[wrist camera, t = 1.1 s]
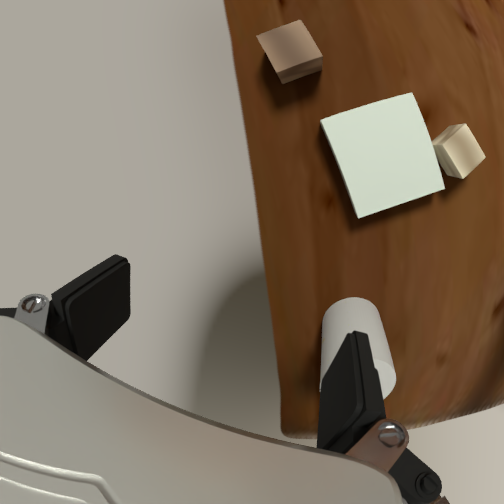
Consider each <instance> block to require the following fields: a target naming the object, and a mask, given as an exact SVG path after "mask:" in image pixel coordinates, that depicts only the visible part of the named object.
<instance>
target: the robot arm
mask: <svg viewBox="0 0 504 504" xmlns="http://www.w3.org/2000/svg"><path fill="white" fill-rule="evenodd" d="M51 295H52V300H51V301H50V302H49V300H48V298H47V297H46V296H44V295H41V294H31V295H27V296H26V297H24V298H23V299H22V300H20V302H19V304H18V307H17V308H0V504H450V503H449V502H448V500H447V499H446V497H445V496H444V497H442V498H441V496H440V493H441V489H442V484H441V480H440V478H439V476H438V475H437V474H436V473H435V472H434V471H433V470H432V469H430V468H429V467H428V466H427V465H426V464H425V463H423V462H422V461H421V460H420V459H419V458H418V457H417V456H415V455H414V454H413V453H412V452H411V451H410V450H409V449H407V448H406V447H407V444H408V443H409V435H408V432H407V430H406V428H405V427H404V426H403V425H402V424H401V423H400V422H398V421H396V420H393V419H386V414H385V407H384V401H383V395H382V389H381V384H380V378H379V373H378V370H377V369H376V368H375V366H374V361H373V356H372V351H371V347H370V342H369V337H368V334H367V333H363V332H359V331H355V330H354V331H353V332H352V333H347V335H346V337H345V339H344V341H343V342H342V344H341V346H340V348H339V350H338V352H337V354H336V356H335V357H334V359H333V361H332V363H331V365H330V366H329V368H328V370H327V372H326V373H325V375H324V377H323V379H322V382H321V388H320V408H319V424H318V437H317V448H314V447H309V446H304V445H299V444H294V443H290V442H286V441H282V440H277V439H274V438H269V437H265V436H262V435H258V434H254V433H251V432H247V431H244V430H241V429H237V428H234V427H231V426H228V425H225V424H222V423H218V422H216V421H213V420H210V419H207V418H204V417H202V416H199V415H196V414H194V413H191V412H188V411H186V410H183V409H181V408H179V407H176V406H174V405H171V404H169V403H167V402H164V401H162V400H160V399H158V398H155V397H153V396H151V395H149V394H147V393H145V392H143V391H141V390H138V389H136V388H134V387H132V386H130V385H128V384H127V383H124V382H123V381H121V380H119V379H117V378H115V377H113V376H111V375H110V374H108V373H106V372H104V371H102V370H101V369H99V368H97V367H96V366H94V365H92V364H90V363H89V362H87V360H88V359H89V358H90V357H91V356H92V355H93V354H94V353H95V352H96V351H97V350H98V349H99V348H100V347H101V346H102V345H103V344H104V343H105V342H106V341H107V340H108V339H109V338H110V337H111V336H112V335H113V334H114V333H115V332H116V331H117V330H118V329H119V328H120V327H121V326H122V325H123V324H124V323H125V322H126V321H127V320H128V319H129V317H130V263H128V260H127V259H126V258H124V257H122V256H119V255H113V256H111V257H110V258H108V259H106V260H105V261H103V262H101V263H100V264H98V265H96V266H95V267H93V268H92V269H90V270H88V271H87V272H85V273H83V274H82V275H80V276H79V277H77V278H75V279H74V280H72V281H71V282H69V283H68V284H66V285H65V286H63V287H62V288H60V289H59V290H57V291H55V292H54V293H52V294H51Z"/></svg>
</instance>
